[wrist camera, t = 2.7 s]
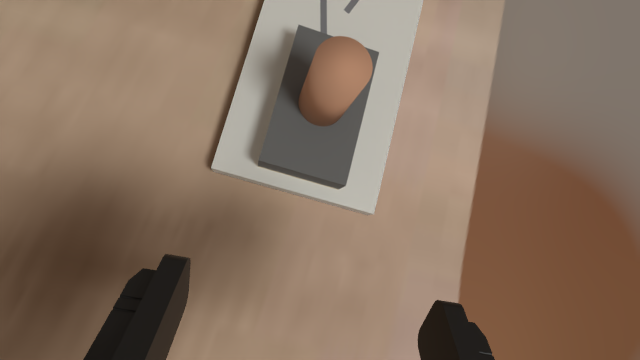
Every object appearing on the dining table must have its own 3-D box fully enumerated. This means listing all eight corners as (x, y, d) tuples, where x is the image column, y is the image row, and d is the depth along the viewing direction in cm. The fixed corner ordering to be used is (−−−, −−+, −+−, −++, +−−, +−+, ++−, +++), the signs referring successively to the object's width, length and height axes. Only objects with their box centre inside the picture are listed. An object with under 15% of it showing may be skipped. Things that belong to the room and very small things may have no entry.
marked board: (367, 215, 30) (373, 214, 29) (212, 171, 29) (211, 168, 27) (434, -68, 35) (442, -82, 34) (304, -120, 33) (307, -136, 32)
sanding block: (338, 189, 29) (375, 170, 20) (257, 166, 28) (262, 136, 19) (369, 65, 30) (415, 1, 22) (294, 40, 30) (312, -37, 21)
